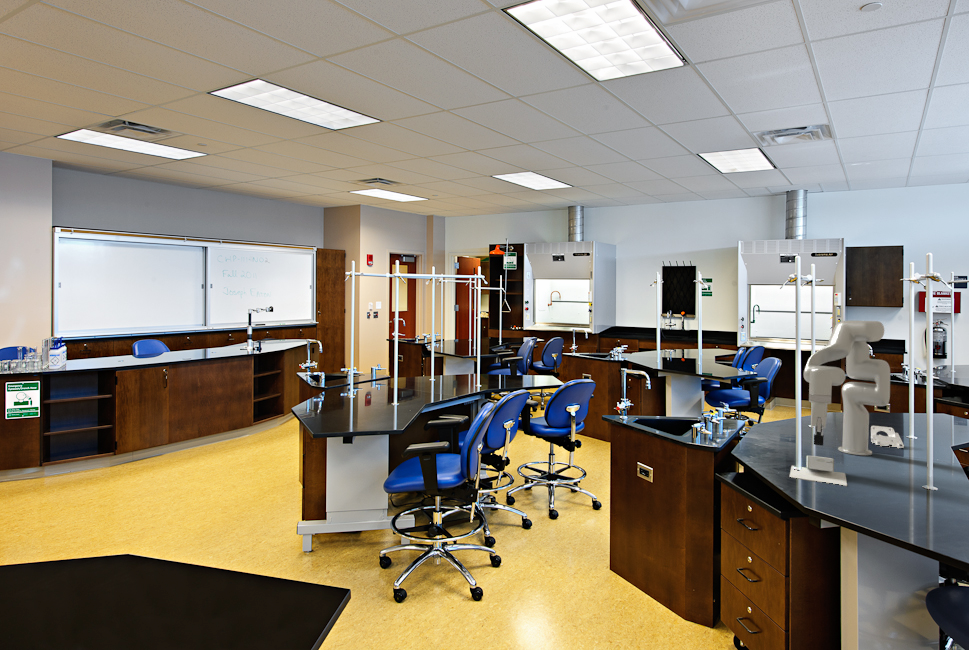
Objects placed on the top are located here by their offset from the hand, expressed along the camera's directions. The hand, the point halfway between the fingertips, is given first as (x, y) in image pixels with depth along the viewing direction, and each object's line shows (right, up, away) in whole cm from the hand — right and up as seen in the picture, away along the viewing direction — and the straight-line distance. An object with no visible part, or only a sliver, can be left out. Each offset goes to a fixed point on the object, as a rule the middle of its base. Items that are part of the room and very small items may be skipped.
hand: (818, 444), depth 214 cm
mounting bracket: (+59, -10, +42) cm, 73 cm away
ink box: (0, -8, 0) cm, 8 cm away
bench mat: (-6, -10, -9) cm, 15 cm away
